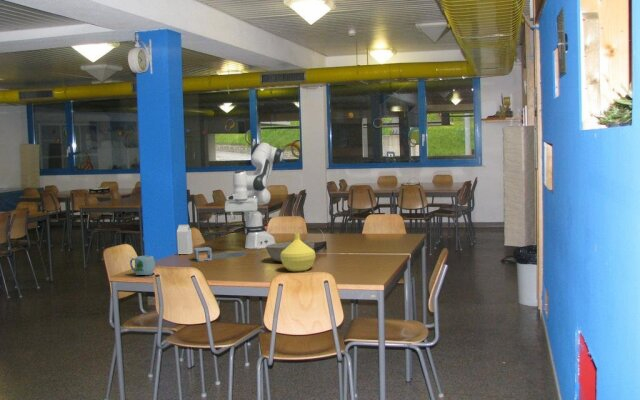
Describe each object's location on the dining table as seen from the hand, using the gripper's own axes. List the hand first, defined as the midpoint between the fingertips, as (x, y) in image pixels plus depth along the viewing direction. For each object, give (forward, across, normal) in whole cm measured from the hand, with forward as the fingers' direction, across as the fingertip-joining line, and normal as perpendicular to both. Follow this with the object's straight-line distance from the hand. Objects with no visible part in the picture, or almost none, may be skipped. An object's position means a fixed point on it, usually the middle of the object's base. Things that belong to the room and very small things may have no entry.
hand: (241, 218), depth 415 cm
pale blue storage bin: (+23, +23, +11) cm, 35 cm away
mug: (+25, +52, +51) cm, 77 cm away
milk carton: (+23, +37, -18) cm, 47 cm away
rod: (+23, +9, +8) cm, 26 cm away
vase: (+24, -31, +68) cm, 78 cm away
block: (+23, +24, +11) cm, 35 cm away
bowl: (+23, -28, +35) cm, 51 cm away
